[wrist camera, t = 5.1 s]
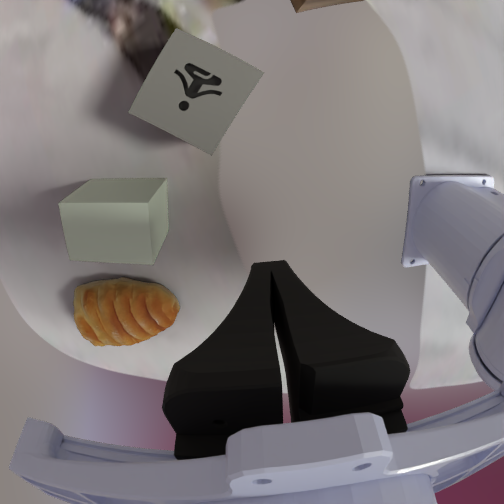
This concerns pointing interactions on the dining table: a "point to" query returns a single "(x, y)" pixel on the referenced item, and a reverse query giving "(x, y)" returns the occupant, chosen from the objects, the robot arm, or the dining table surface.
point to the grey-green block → (116, 220)
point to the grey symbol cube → (194, 90)
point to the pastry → (123, 311)
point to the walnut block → (316, 4)
